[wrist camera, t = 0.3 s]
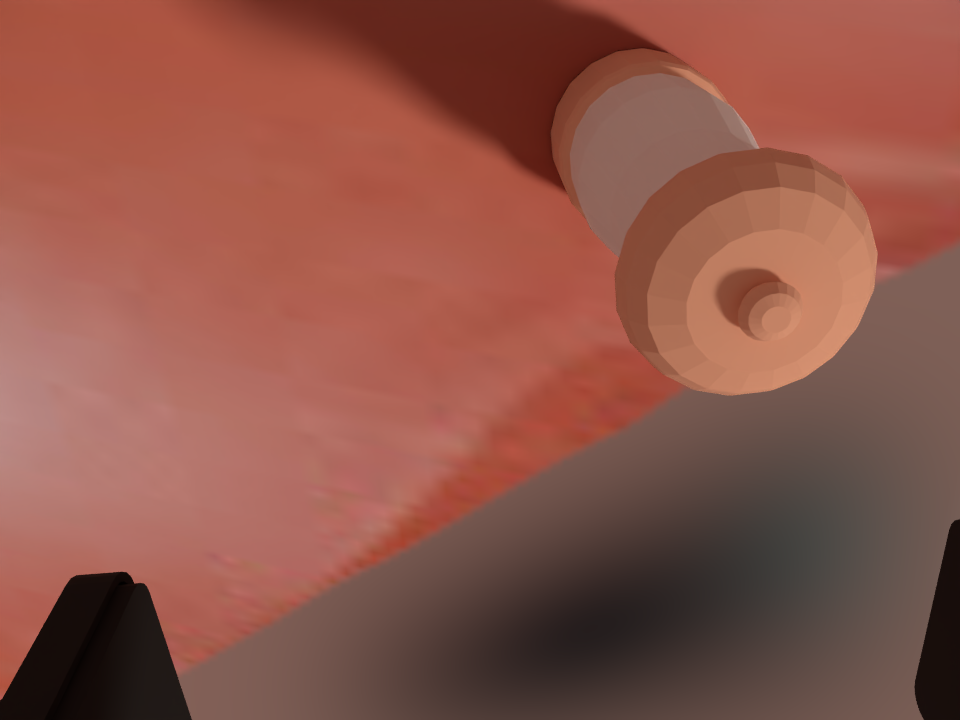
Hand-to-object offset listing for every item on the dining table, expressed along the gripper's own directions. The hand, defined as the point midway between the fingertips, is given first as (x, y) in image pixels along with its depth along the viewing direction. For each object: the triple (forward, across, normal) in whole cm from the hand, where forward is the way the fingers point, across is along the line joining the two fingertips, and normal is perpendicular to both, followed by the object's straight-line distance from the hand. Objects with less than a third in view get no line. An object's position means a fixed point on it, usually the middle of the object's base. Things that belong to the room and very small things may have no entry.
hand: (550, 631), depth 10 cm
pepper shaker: (+31, -7, +2) cm, 32 cm away
